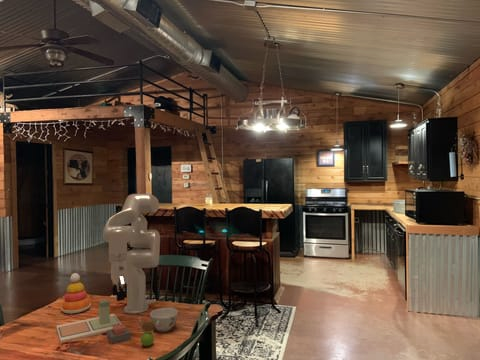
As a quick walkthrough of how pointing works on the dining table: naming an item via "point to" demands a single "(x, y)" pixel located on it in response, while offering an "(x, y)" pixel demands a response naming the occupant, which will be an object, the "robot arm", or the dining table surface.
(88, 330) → the picture board
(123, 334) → the button housing
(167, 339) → the dining table surface
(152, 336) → the snail figurine
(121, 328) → the button
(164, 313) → the teacup
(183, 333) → the dining table surface
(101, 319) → the sage block
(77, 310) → the stacking toy
